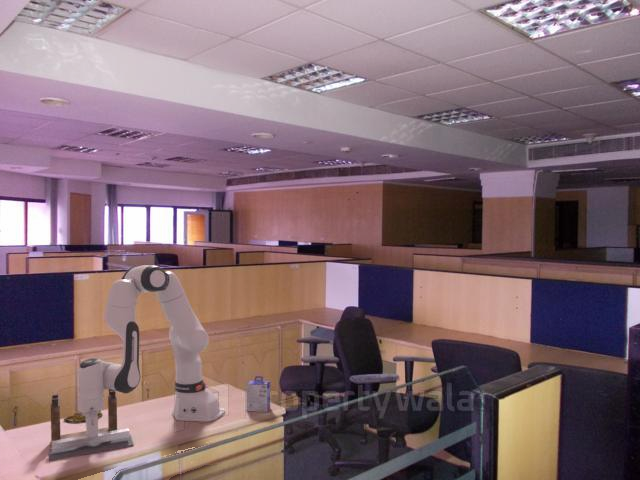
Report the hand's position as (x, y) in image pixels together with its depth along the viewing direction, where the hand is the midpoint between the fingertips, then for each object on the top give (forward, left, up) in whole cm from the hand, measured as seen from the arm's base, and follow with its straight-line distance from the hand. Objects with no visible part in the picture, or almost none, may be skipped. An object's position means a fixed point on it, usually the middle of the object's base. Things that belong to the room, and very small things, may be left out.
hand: (92, 441), depth 191 cm
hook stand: (+9, -6, -3) cm, 11 cm away
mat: (0, 0, -3) cm, 3 cm away
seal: (+25, -22, -3) cm, 33 cm away
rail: (0, 0, -1) cm, 1 cm away
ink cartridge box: (-41, -55, -3) cm, 69 cm away
